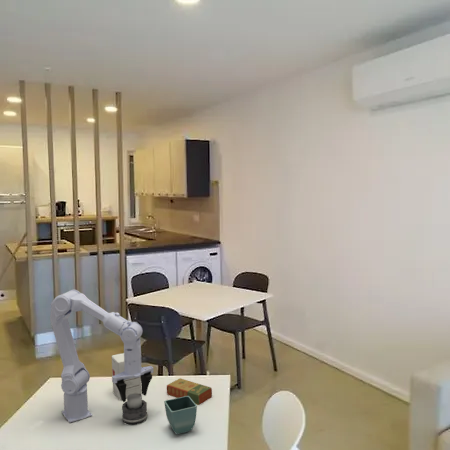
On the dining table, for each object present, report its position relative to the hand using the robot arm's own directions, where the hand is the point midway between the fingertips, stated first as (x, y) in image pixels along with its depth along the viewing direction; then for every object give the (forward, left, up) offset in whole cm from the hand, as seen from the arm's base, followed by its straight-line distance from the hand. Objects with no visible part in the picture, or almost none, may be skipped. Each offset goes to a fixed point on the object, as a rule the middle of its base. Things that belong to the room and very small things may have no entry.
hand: (134, 397), depth 155 cm
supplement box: (-20, +6, -8) cm, 22 cm away
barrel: (0, 0, -8) cm, 8 cm away
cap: (0, 0, -4) cm, 4 cm away
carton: (-3, +24, -8) cm, 26 cm away
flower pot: (+16, +9, -8) cm, 20 cm away
